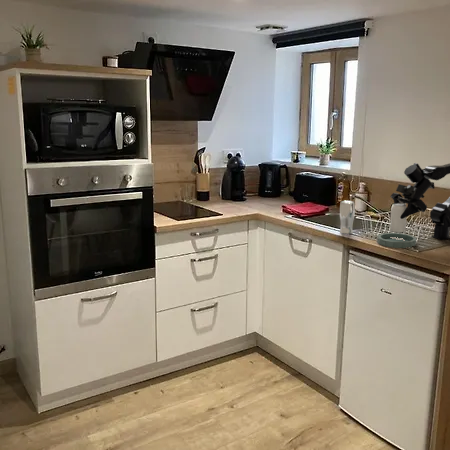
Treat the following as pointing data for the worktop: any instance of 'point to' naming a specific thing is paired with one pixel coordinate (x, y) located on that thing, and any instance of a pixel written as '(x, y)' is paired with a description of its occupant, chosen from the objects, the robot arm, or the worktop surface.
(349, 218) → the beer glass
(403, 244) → the dish
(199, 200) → the worktop surface
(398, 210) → the can
